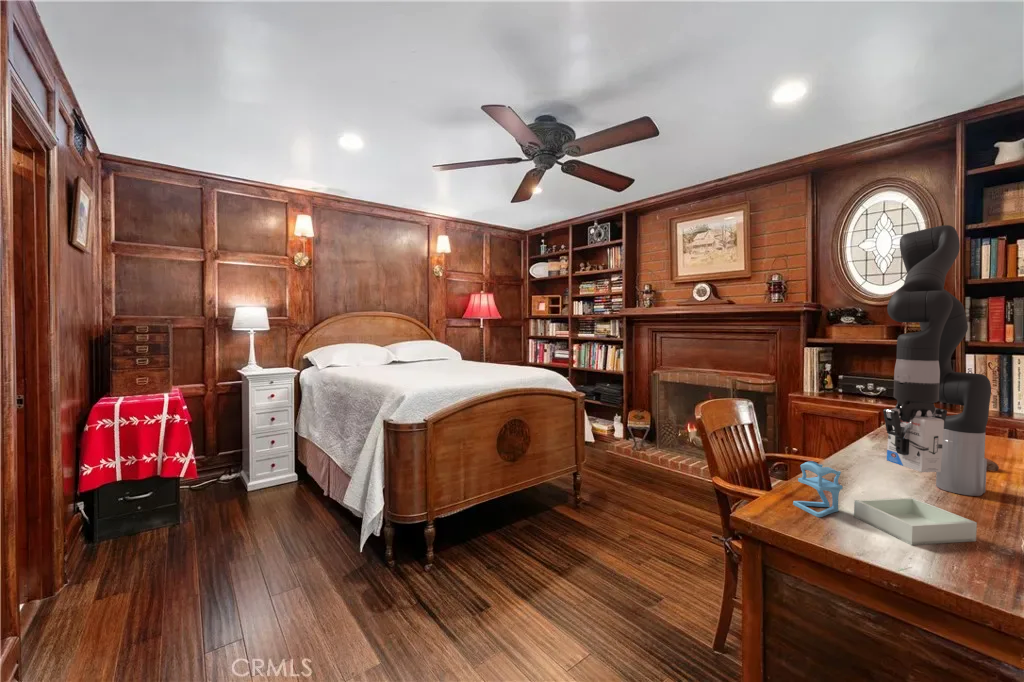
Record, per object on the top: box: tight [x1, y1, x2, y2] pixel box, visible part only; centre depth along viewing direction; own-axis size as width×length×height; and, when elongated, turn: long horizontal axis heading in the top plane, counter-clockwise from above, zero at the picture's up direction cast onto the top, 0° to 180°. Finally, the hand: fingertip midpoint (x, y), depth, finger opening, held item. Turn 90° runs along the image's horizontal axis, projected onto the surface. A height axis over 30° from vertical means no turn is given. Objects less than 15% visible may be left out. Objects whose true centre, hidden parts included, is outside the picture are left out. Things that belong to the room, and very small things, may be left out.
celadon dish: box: [853, 496, 978, 546], centre depth 99 cm, size 16×14×4 cm
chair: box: [792, 460, 843, 518], centre depth 109 cm, size 8×8×12 cm
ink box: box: [886, 417, 944, 473], centre depth 98 cm, size 9×5×12 cm, turn 5°
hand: (913, 453), depth 99 cm, fingers closed on ink box, 5 cm apart
